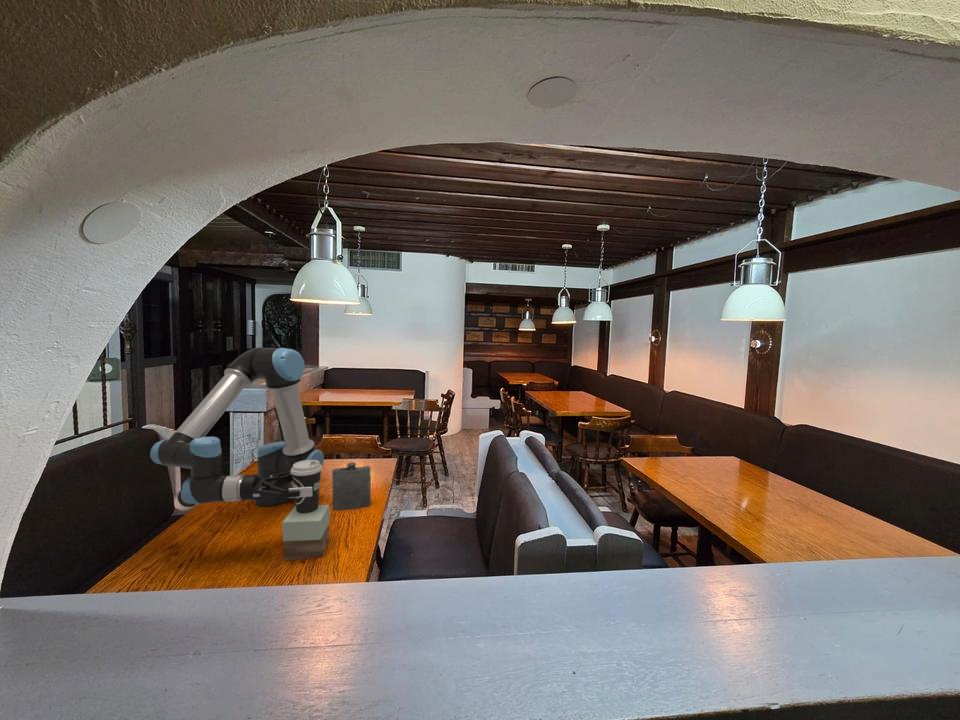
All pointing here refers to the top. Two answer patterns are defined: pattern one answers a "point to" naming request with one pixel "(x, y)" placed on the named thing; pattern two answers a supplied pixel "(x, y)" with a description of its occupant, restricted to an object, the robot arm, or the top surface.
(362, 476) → the flask
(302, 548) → the tower base
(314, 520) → the tower top
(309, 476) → the coffee cup
